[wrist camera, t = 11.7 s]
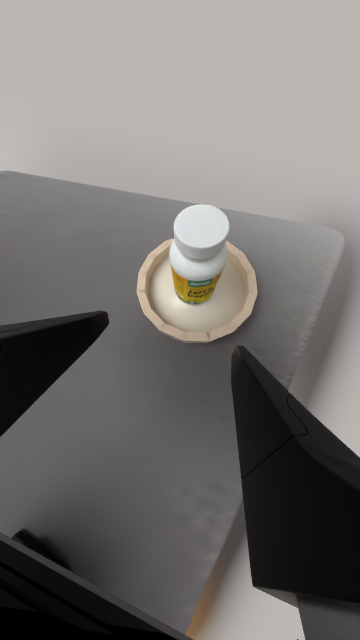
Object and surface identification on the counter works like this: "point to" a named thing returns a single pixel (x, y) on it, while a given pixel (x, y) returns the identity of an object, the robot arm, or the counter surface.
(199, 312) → the round tray
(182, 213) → the supplement bottle
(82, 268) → the counter surface
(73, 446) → the counter surface
